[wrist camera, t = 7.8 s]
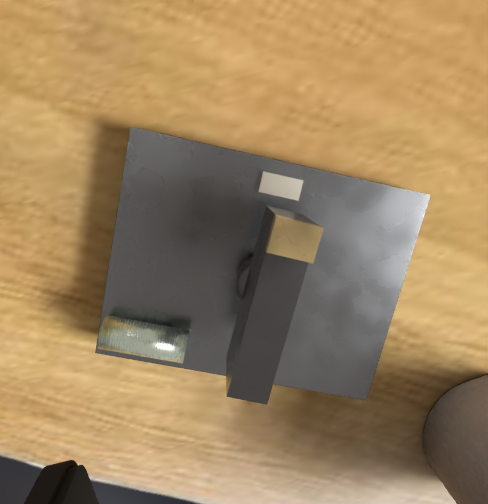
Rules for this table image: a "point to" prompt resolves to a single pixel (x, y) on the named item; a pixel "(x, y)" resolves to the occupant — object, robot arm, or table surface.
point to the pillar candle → (460, 441)
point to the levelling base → (242, 247)
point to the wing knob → (268, 301)
